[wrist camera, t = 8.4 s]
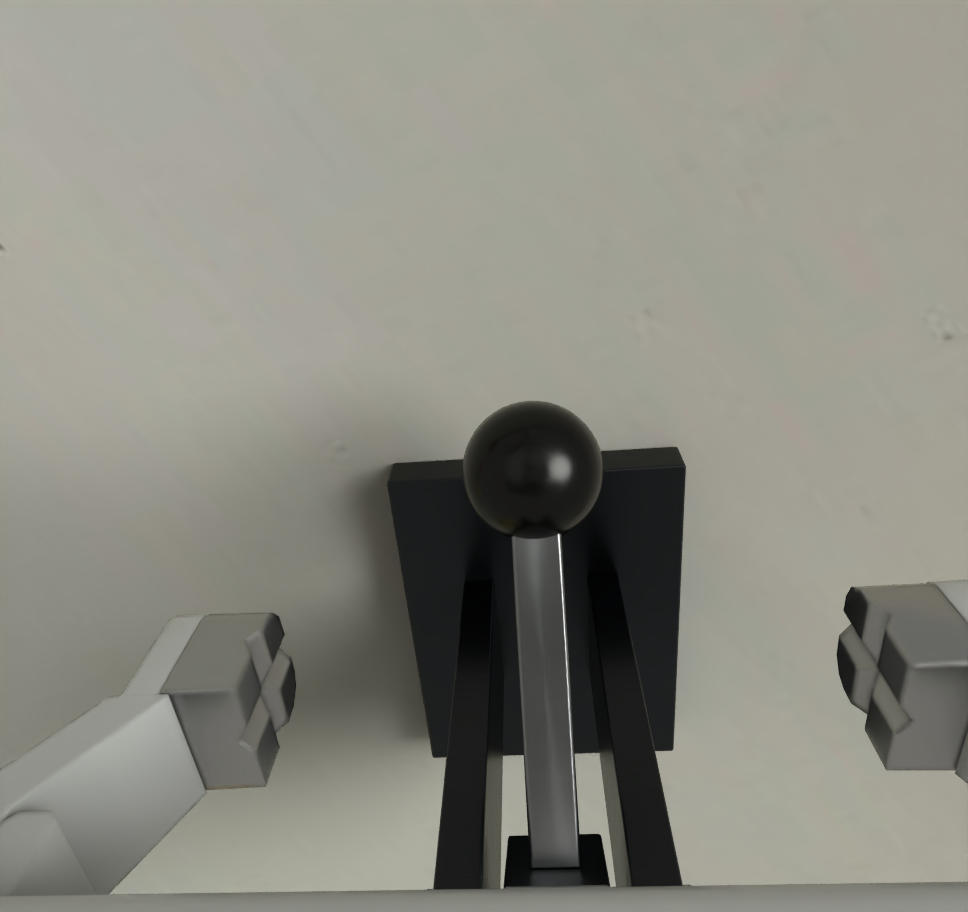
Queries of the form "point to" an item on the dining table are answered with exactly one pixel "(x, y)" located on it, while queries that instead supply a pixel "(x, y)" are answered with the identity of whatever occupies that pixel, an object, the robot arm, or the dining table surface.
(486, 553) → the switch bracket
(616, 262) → the dining table surface
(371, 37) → the dining table surface
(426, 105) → the dining table surface
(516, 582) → the switch lever
